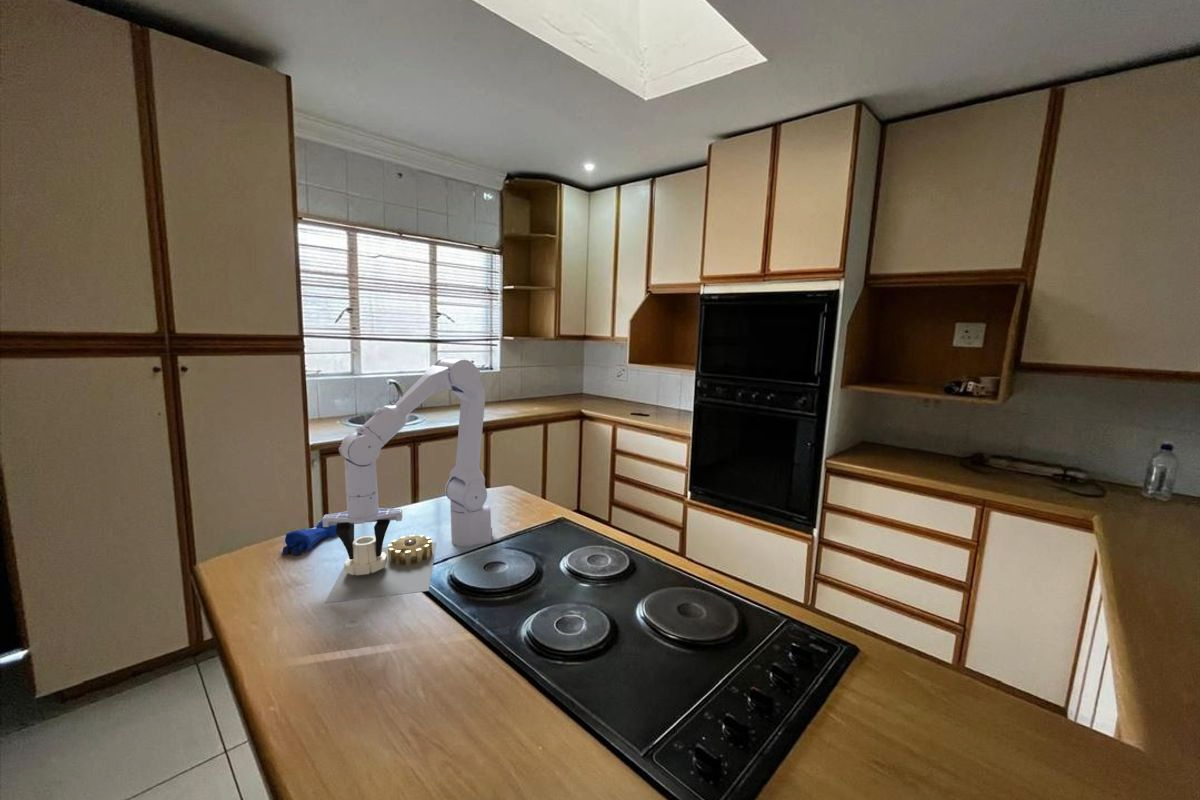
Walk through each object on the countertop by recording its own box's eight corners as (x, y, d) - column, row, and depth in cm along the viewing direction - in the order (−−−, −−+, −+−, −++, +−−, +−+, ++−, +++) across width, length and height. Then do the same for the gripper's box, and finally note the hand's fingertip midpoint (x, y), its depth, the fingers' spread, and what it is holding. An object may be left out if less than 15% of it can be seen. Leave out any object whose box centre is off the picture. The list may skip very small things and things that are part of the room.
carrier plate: (436, 545, 114) (436, 542, 114) (428, 594, 93) (428, 590, 93) (352, 553, 109) (352, 550, 109) (324, 607, 88) (324, 603, 88)
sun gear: (433, 545, 112) (433, 530, 112) (430, 563, 103) (430, 547, 103) (392, 549, 110) (391, 534, 109) (385, 567, 101) (384, 551, 101)
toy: (304, 563, 106) (351, 533, 120) (301, 537, 105) (349, 509, 119) (277, 560, 107) (327, 530, 122) (274, 534, 106) (325, 507, 121)
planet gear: (389, 555, 104) (387, 531, 103) (383, 572, 97) (381, 546, 96) (350, 559, 102) (349, 534, 101) (341, 576, 95) (339, 550, 94)
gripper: (315, 502, 92) (320, 569, 94) (397, 496, 95) (400, 560, 97) (326, 490, 98) (331, 553, 100) (402, 485, 102) (405, 545, 104)
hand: (365, 555), depth 99 cm, fingers closed on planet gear, 4 cm apart
